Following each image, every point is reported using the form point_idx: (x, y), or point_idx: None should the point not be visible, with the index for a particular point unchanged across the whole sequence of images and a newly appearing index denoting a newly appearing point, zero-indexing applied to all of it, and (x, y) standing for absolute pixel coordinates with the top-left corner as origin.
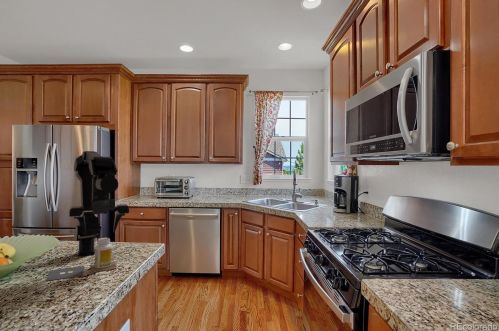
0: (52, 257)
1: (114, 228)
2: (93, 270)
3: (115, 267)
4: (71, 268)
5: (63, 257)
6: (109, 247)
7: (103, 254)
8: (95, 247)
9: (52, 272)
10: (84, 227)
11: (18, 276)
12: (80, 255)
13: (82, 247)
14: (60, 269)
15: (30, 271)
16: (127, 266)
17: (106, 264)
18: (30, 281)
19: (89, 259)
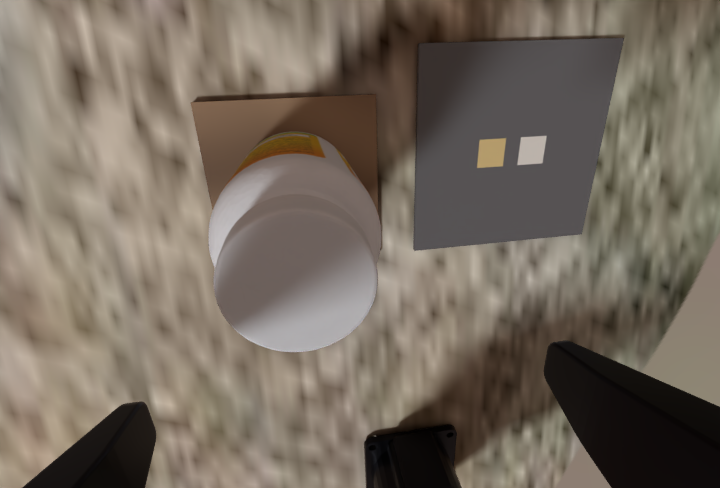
0: (553, 435)
1: (83, 464)
2: (355, 115)
3: (200, 118)
4: (483, 223)
5: (510, 425)
6: (225, 189)
7: (290, 147)
8: (379, 224)
9: (576, 188)
10: (697, 422)
11: (709, 201)
12: (438, 428)
13: (446, 470)
14: (537, 227)
15: (655, 260)
16: (107, 128)
17: (267, 138)
18: (680, 82)
19: (390, 364)
